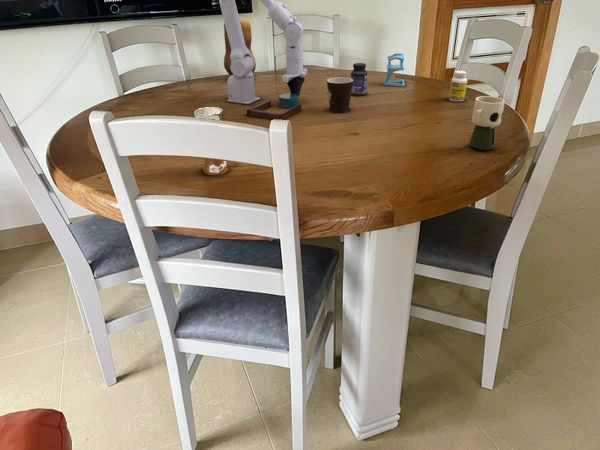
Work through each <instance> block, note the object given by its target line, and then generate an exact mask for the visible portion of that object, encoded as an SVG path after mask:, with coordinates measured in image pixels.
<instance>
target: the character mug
mask: <svg viewBox="0 0 600 450" xmlns="http://www.w3.org/2000/svg"><path fill="white" fill-rule="evenodd" d="M505 102H506V101H505V99H504V98H502V97H499V96H492V95H482V96H477V97H475V100H474V106H473V110H472V116H471V123H472V124H474V125H475V126H474V128H473V130H472V134H471V136H470V140H469V144H468V145H469V146H471V147H473V148H474V149H477V150H481V151H482V150H484V151H490V150H492V148H493V149H494V148H495V142H496V141H495V140H496V139H495V138H496V128H495V127H499V126H500V125H501V123H502V115H503V113H504V109H505V104H506V103H505Z"/></svg>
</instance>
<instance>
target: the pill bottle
mask: <svg viewBox="0 0 600 450" xmlns="http://www.w3.org/2000/svg"><path fill="white" fill-rule="evenodd" d="M352 68H353V69H352V70H351V72H350V79H353V84H352V91H351V96H354V97H363V96H366V95H367V92H368V87H367V86H368V71H367V70H366V69H367V63H365V62H355V63H353V65H352Z"/></svg>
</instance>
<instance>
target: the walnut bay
mask: <svg viewBox="0 0 600 450" xmlns="http://www.w3.org/2000/svg"><path fill="white" fill-rule="evenodd" d="M271 107H272V100H269V99H267V100H266V101H263V102H261V103H258V104H257V105H254V106H252V107H250V108H248V109H246V116H247V117H254V118H258V119H259V118H260V119H265V120H266V119H268V120H273V119H283V120H282V121H284V120H286V119H288V118H290V117H292V116H294V115H295V114H297V113H299V112H302V104H300V103H299V104H297V105H295V106H294V107H292V108H287V109H286V110H284V111H282V112H274V111H267V110H266V109H269V108H271ZM265 110H266V111H265Z"/></svg>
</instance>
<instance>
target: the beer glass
mask: <svg viewBox="0 0 600 450" xmlns="http://www.w3.org/2000/svg"><path fill="white" fill-rule="evenodd" d="M193 114H194V118H195V117H196V118H205V119H215V120H223V121H225V116H224V109H223V108H221V107H217V106H206V107H200V108H197V109H195V110H194V113H193ZM225 122H226V121H225ZM202 160H203V165H202V166H203V168H202V171H203V173H204V174H205V175H207V176H221V175H223V174H226V173H227V172H228V171H229V166H228V162H227V160H226V161H222V160H215V159H207V158H203V157H202Z"/></svg>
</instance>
